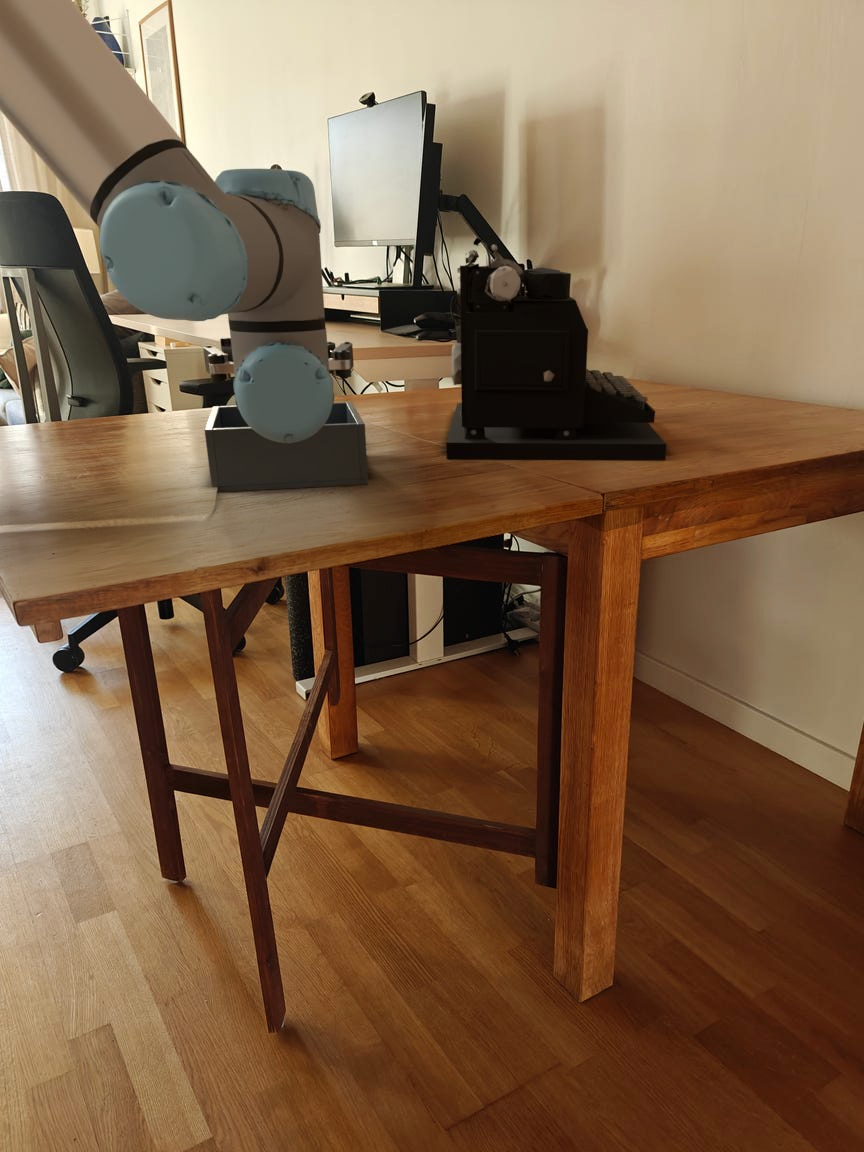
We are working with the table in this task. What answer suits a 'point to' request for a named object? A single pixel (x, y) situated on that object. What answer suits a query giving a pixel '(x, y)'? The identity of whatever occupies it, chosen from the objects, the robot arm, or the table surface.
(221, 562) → the table surface
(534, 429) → the typewriter
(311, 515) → the table surface
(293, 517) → the table surface
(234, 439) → the bin
